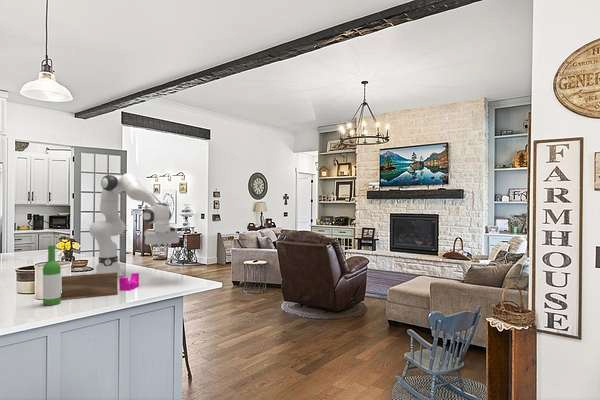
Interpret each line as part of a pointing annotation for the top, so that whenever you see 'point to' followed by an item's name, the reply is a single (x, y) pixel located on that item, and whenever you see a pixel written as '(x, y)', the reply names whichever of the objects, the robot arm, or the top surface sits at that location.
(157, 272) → the top surface
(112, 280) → the brown block
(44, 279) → the wine bottle
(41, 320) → the top surface
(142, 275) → the top surface
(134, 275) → the toy block
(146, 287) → the top surface
